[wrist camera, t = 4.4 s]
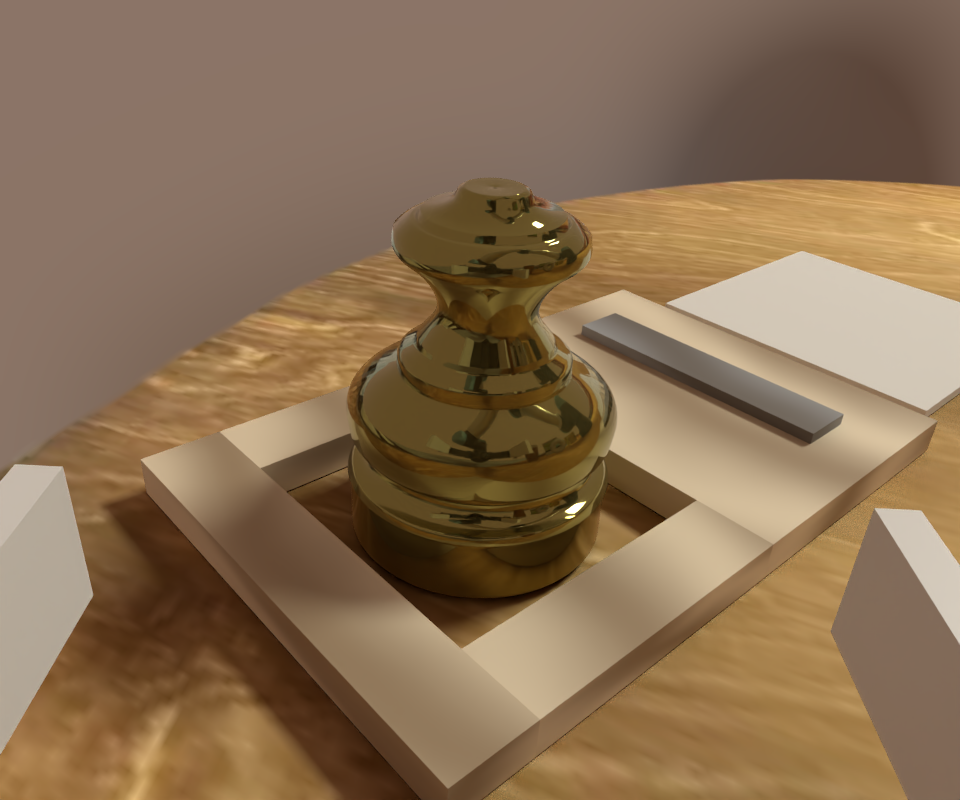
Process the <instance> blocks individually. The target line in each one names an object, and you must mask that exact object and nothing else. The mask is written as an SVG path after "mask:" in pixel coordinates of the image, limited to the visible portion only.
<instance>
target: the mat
mask: <svg viewBox="0 0 960 800" xmlns="http://www.w3.org/2000/svg"><path fill="white" fill-rule="evenodd" d="M665 307H666V308H668V309H671V310H673V311H676V312H678V313H680V314H683V315H685V316H688V317H690V318H692V319H695V320H697V321H700V322H702V323H704V324H707V325H709V326H712V327H714V328H716V329H719V330H721V331H724V332H726V333H728V334H731V335H733V336H735V337H738V338H740V339H743V340H745V341H747V342H750V343H752V344H755V345H757V346H759V347H762V348H764V349H767V350H769V351H771V352H774V353H776V354H779V355H781V356H783V357H786V358H788V359H791V360H793V361H795V362H798V363H800V364H802V365H805V366H807V367H810V368H812V369H814V370H817V371H819V372H822V373H824V374H826V375H829V376H831V377H834V378H836V379H838V380H841V381H843V382H846V383H848V384H850V385H853V386H855V387H858V388H860V389H862V390H865V391H867V392H870V393H872V394H874V395H877V396H879V397H881V398H884V399H886V400H889V401H891V402H893V403H896V404H898V405H901V406H903V407H905V408H908V409H910V410H913V411H915V412H917V413H920V414H922V415H925V416H927V417H928V416H930V415H931V414H932V413H934V412H935V411H936V410H938V409H939V408H940V407H942V406H943V405H945V404H946V403H947V402H949V401H950V400H951V399H953V398H954V397H956V396H957V395H958V394H960V302H957V301H954V300H951V299H948V298H945V297H942V296H939V295H936V294H932V293H929V292H926V291H923V290H920V289H917V288H914V287H911V286H908V285H905V284H902V283H899V282H896V281H893V280H889V279H886V278H883V277H880V276H877V275H874V274H871V273H868V272H865V271H862V270H859V269H856V268H853V267H850V266H847V265H843V264H840V263H837V262H834V261H831V260H828V259H825V258H822V257H819V256H816V255H813V254H810V253H807V252H804V251H800V252H798V253H795V254H793V255H790V256H787V257H785V258H782V259H780V260H777V261H774V262H772V263H769V264H767V265H764V266H761V267H759V268H756V269H753V270H751V271H748V272H746V273H743V274H740V275H738V276H735V277H733V278H730V279H727V280H725V281H722V282H720V283H717V284H714V285H712V286H709V287H707V288H704V289H701V290H699V291H696V292H694V293H691V294H688V295H686V296H683V297H681V298H678V299H675V300H673V301H670V302H668V303H666V306H665Z"/></svg>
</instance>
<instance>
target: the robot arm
mask: <svg viewBox="0 0 960 800" xmlns="http://www.w3.org/2000/svg"><path fill="white" fill-rule="evenodd" d="M92 597H93V592H92V587H91V583H90V579H89V575H88V571H87V566H86V562H85V558H84V554H83V549H82V545H81V541H80V537H79V533H78V528H77V524H76V520H75V516H74V511H73V507H72V503H71V499H70V494H69V490H68V486H67V482H66V478H65V473H64V469H63V467H57V466H37V465H18V464H15V465H14V466H13V467H12V469H11V470H10V471H9V472H8V473H7V474H6V475H5V477H4V478H3V479H2V480H1V481H0V754H1V753H2V751H3V749H4V747H5V746H6V744H7V742H8V741H9V739H10V737H11V735H12V734H13V732H14V730H15V729H16V727H17V725H18V723H19V722H20V720H21V718H22V717H23V715H24V713H25V711H26V710H27V708H28V706H29V705H30V703H31V701H32V699H33V698H34V696H35V694H36V693H37V691H38V689H39V687H40V686H41V684H42V682H43V681H44V679H45V677H46V675H47V674H48V672H49V670H50V669H51V667H52V665H53V663H54V662H55V660H56V658H57V657H58V655H59V653H60V651H61V650H62V648H63V646H64V645H65V643H66V641H67V639H68V638H69V636H70V634H71V633H72V631H73V629H74V627H75V626H76V624H77V622H78V621H79V619H80V617H81V615H82V614H83V612H84V610H85V609H86V607H87V605H88V603H89V602H90V600H91V598H92ZM831 633H832V635H833V638H834V640H835V642H836V644H837V646H838V648H839V651H840V653H841V655H842V657H843V659H844V662H845V664H846V666H847V668H848V670H849V672H850V675H851V677H852V679H853V681H854V683H855V685H856V688H857V690H858V692H859V694H860V696H861V698H862V701H863V703H864V705H865V707H866V709H867V711H868V714H869V716H870V718H871V720H872V722H873V725H874V727H875V729H876V731H877V733H878V735H879V738H880V740H881V742H882V744H883V746H884V748H885V751H886V753H887V755H888V757H889V759H890V761H891V764H892V766H893V768H894V770H895V772H896V774H897V777H898V779H899V781H900V783H901V785H902V788H903V790H904V792H905V794H906V796H907V798H908V800H960V565H959V564H958V562H957V561H956V559H955V558H954V557H953V555H952V554H951V552H950V551H949V549H948V548H947V547H946V545H945V544H944V542H943V541H942V540H941V538H940V537H939V535H938V534H937V532H936V531H935V530H934V528H933V527H932V525H931V524H930V522H929V521H928V520H927V518H926V517H925V515H924V514H923V512H922V511H920V510H901V509H881V508H874V511H873V513H872V516H871V519H870V522H869V525H868V528H867V530H866V533H865V536H864V539H863V542H862V544H861V547H860V550H859V553H858V556H857V559H856V561H855V564H854V567H853V570H852V573H851V576H850V578H849V581H848V584H847V587H846V590H845V593H844V595H843V598H842V601H841V604H840V607H839V609H838V612H837V615H836V618H835V621H834V624H833V626H832V629H831Z"/></svg>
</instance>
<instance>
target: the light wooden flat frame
mask: <svg viewBox="0 0 960 800" xmlns="http://www.w3.org/2000/svg"><path fill="white" fill-rule="evenodd" d="M542 321H543V322H544V323H545V324H546V326H547V327H548V328H549V329H550V330H551V332H553V333H554V334H556V335H557V336H558V337H559V338H561V339H562V340H563V341H564V342H565V343H566V345H567V346H568V347H569V349H570V351H572V352H574V353H575V354H577V355H578V356H580V357H581V358H583V359H584V360H585V361H587V362H588V363H589V364H590V365H591V366H592V367H594V368H595V369H596V371H597V372H598V373H599V374H600V375H601V376H602V377H603V378H604V380H605V381H606V383H607V384H608V386H609V388H610V389H611V391H612V394H613V396H614V399H615V402H616V406H617V417H618V418H617V426H616V431H615V434H614V437H613V440H612V443H611V447H610V449H609V451H608V453H607V455H606V457H605V458H604V459H605V462H606V465H607V470H608V483H609V484H611V485H612V486H614V487H616V488H617V489H619V490H620V491H622V492H624V493H625V494H627V495H629V496H630V497H632V498H634V499H635V500H637V501H638V502H640V503H642V504H643V505H645V506H647V507H648V508H650V509H652V510H653V511H655V512H656V513H658V514H660V515H661V516H663V517H665V518H666V519H667V520H665V521H664V522H662V523H660V524H659V525H657V526H656V527H654V528H652V529H651V530H649V531H648V532H646V533H644V534H643V535H641V536H640V537H638V538H637V539H635V540H633V541H632V542H630V543H629V544H627V545H625V546H624V547H622V548H621V549H619V550H618V551H616V552H614V553H613V554H611V555H610V556H608V557H606V558H605V559H603V560H602V561H600V562H599V563H597V564H595V565H594V566H592V567H591V568H589V569H587V570H586V571H584V572H583V573H581V574H580V575H578V576H576V577H575V578H573V579H572V580H570V581H568V582H567V583H565V584H564V585H562V586H561V587H559V588H557V589H556V590H554V591H553V592H551V593H549V594H548V595H546V596H545V597H543V598H541V599H540V600H538V601H537V602H535V603H534V604H532V605H530V606H529V607H527V608H526V609H524V610H522V611H521V612H519V613H518V614H516V615H515V616H513V617H511V618H510V619H508V620H507V621H505V622H503V623H502V624H500V625H499V626H497V627H496V628H494V629H492V630H491V631H489V632H488V633H486V634H484V635H483V636H481V637H480V638H478V639H477V640H475V641H473V642H472V643H470V644H469V645H467V646H465V647H464V648H462V649H461V648H460V647H459V646H458V645H457V644H455V643H454V642H453V641H452V640H451V639H450V638H449V637H448V636H446V635H445V634H444V633H443V632H442V631H441V630H440V629H439V628H438V627H436V626H435V625H434V624H433V623H432V622H431V621H430V620H429V619H428V618H426V617H425V616H424V615H423V614H422V613H421V612H420V611H419V610H418V609H416V608H415V607H414V606H413V605H412V604H411V603H410V602H409V601H408V600H406V599H405V598H404V597H403V596H402V595H401V594H400V593H399V592H397V591H396V590H395V589H394V588H393V587H392V586H391V585H390V584H389V583H387V582H386V581H385V580H384V579H383V578H382V577H381V576H380V575H379V574H377V573H376V572H375V571H374V570H373V569H372V568H371V567H370V566H369V565H367V564H366V563H365V562H364V561H363V560H362V559H361V558H360V557H358V556H357V555H356V554H355V553H354V552H353V551H352V550H351V549H350V548H348V547H347V546H346V545H345V544H344V543H343V542H342V541H341V540H340V539H338V538H337V537H336V536H335V535H334V534H333V533H332V532H331V531H330V530H328V529H327V528H326V527H325V526H324V525H323V524H322V523H321V522H320V521H318V520H317V519H316V518H315V517H314V516H313V515H312V514H311V513H309V512H308V511H307V510H306V509H305V508H304V507H303V506H302V505H301V504H299V503H298V502H297V501H296V500H295V499H294V498H293V497H292V496H291V495H289V494H288V493H287V491H289V490H292V489H294V488H296V487H299V486H301V485H304V484H306V483H308V482H311V481H313V480H315V479H318V478H320V477H323V476H325V475H327V474H330V473H332V472H335V471H337V470H339V469H342V468H344V467H347V466H348V459H349V454H350V451H351V448H352V447H353V445H354V442H353V440H352V437H351V433H350V430H349V425H348V420H347V414H346V398H347V394H348V390H349V387H350V386H348V387H345V388H342V389H340V390H337V391H334V392H331V393H328V394H325V395H323V396H320V397H317V398H314V399H311V400H308V401H305V402H303V403H300V404H297V405H294V406H291V407H288V408H286V409H283V410H280V411H277V412H274V413H271V414H269V415H266V416H263V417H260V418H257V419H254V420H251V421H249V422H246V423H243V424H240V425H237V426H234V427H232V428H229V429H226V430H223V431H220V432H217V433H214V434H212V435H209V436H206V437H203V438H200V439H197V440H195V441H192V442H189V443H186V444H183V445H180V446H177V447H175V448H172V449H169V450H166V451H163V452H160V453H158V454H155V455H152V456H149V457H146V458H143V459H141V465H142V470H143V476H144V481H145V487H146V493H147V494H148V495H149V496H150V497H151V498H152V499H153V500H154V502H155V503H156V504H157V505H158V506H159V507H160V508H161V509H162V510H163V512H164V513H165V514H166V515H167V516H168V517H169V518H170V519H171V521H172V522H173V523H174V524H175V525H176V526H177V527H178V528H179V529H180V531H181V532H182V533H183V534H184V535H185V536H186V537H187V538H188V540H189V541H190V542H191V543H192V544H193V545H194V546H195V547H196V548H197V550H198V551H199V552H200V553H201V554H202V555H203V556H204V557H205V559H206V560H207V561H208V562H209V563H210V564H211V565H212V566H213V567H214V569H215V570H216V571H217V572H218V573H219V574H220V575H221V576H222V578H223V579H224V580H225V581H226V582H227V583H228V584H229V585H230V586H231V588H232V589H233V590H234V591H235V592H236V593H237V594H238V595H239V597H240V598H241V599H242V600H243V601H244V602H245V603H246V604H247V605H248V607H249V608H250V609H251V610H252V611H253V612H254V613H255V614H256V616H257V617H258V618H259V619H260V620H261V621H262V622H263V623H264V625H265V626H266V627H267V628H268V629H269V630H270V631H271V632H272V633H273V635H274V636H275V637H276V638H277V639H278V640H279V641H280V642H281V644H282V645H283V646H284V647H285V648H286V649H287V650H288V651H289V652H290V654H291V655H292V656H293V657H294V658H295V659H296V660H297V661H298V663H299V664H300V665H301V666H302V667H303V668H304V669H305V670H306V671H307V673H308V674H309V675H310V676H311V677H312V678H313V679H314V680H315V682H316V683H317V684H318V685H319V686H320V687H321V688H322V689H323V690H324V692H325V693H326V694H327V695H328V696H329V697H330V698H331V699H332V701H333V702H334V703H335V704H336V705H337V706H338V707H339V708H340V709H341V711H342V712H343V713H344V714H345V715H346V716H347V717H348V718H349V720H350V721H351V722H352V723H353V724H354V725H355V726H356V727H357V728H358V730H359V731H360V732H361V733H362V734H363V735H364V736H365V737H366V739H367V740H368V741H369V742H370V743H371V744H372V745H373V746H374V747H375V749H376V750H377V751H378V752H379V753H380V754H381V755H382V756H383V758H384V759H385V760H386V761H387V762H388V763H389V764H390V765H391V766H392V768H393V769H394V770H395V771H396V772H397V773H398V774H399V775H400V777H401V778H402V779H403V780H404V781H405V782H406V783H407V784H408V785H409V787H410V788H411V789H412V790H413V791H414V792H415V793H416V794H417V796H418V797H419V798H420V799H421V800H482V799H483V798H484V797H485V796H487V795H488V794H489V793H491V792H492V791H493V790H494V789H496V788H497V787H498V786H499V785H501V784H502V783H503V782H505V781H506V780H507V779H508V778H510V777H511V776H512V775H513V774H515V773H516V772H517V771H519V770H520V769H521V768H522V767H524V766H525V765H526V764H527V763H529V762H530V761H531V760H533V759H534V758H535V757H536V756H538V755H539V754H540V753H541V752H543V751H544V750H545V749H547V748H548V747H549V746H550V745H552V744H553V743H554V742H556V741H557V740H558V739H559V738H561V737H562V736H563V735H564V734H566V733H567V732H568V731H570V730H571V729H572V728H573V727H575V726H576V725H577V724H578V723H580V722H581V721H582V720H584V719H585V718H586V717H587V716H589V715H590V714H591V713H592V712H594V711H595V710H596V709H598V708H599V707H600V706H601V705H603V704H604V703H605V702H606V701H608V700H609V699H610V698H612V697H613V696H614V695H615V694H617V693H618V692H619V691H620V690H622V689H623V688H624V687H626V686H627V685H628V684H629V683H631V682H632V681H633V680H635V679H636V678H637V677H638V676H640V675H641V674H642V673H643V672H645V671H646V670H647V669H649V668H650V667H651V666H652V665H654V664H655V663H656V662H657V661H659V660H660V659H661V658H663V657H664V656H665V655H666V654H668V653H669V652H670V651H671V650H673V649H674V648H675V647H677V646H678V645H679V644H680V643H682V642H683V641H684V640H685V639H687V638H688V637H689V636H691V635H692V634H693V633H694V632H696V631H697V630H698V629H700V628H701V627H702V626H703V625H705V624H706V623H707V622H708V621H710V620H711V619H712V618H714V617H715V616H716V615H717V614H719V613H720V612H721V611H722V610H724V609H725V608H726V607H728V606H729V605H730V604H731V603H733V602H734V601H735V600H736V599H738V598H739V597H740V596H742V595H743V594H744V593H745V592H747V591H748V590H749V589H750V588H752V587H753V586H754V585H756V584H757V583H758V582H759V581H761V580H762V579H763V578H764V577H766V576H767V575H768V574H770V573H771V572H772V571H773V570H775V569H776V568H777V567H779V566H780V565H781V564H782V563H784V562H785V561H786V560H787V559H789V558H790V557H791V556H793V555H794V554H795V553H796V552H798V551H799V550H800V549H801V548H803V547H804V546H805V545H807V544H808V543H809V542H810V541H812V540H813V539H814V538H815V537H817V536H818V535H819V534H821V533H822V532H823V531H824V530H826V529H827V528H828V527H829V526H831V525H832V524H833V523H835V522H836V521H837V520H838V519H840V518H841V517H842V516H844V515H845V514H846V513H847V512H849V511H850V510H851V509H852V508H854V507H855V506H856V505H858V504H859V503H860V502H861V501H863V500H864V499H865V498H866V497H868V496H869V495H870V494H872V493H873V492H874V491H875V490H877V489H878V488H879V487H880V486H882V485H883V484H884V483H886V482H887V481H888V480H889V479H891V478H892V477H893V476H894V475H896V474H897V473H898V472H900V471H901V470H902V469H903V468H905V467H906V466H907V465H908V464H910V463H911V462H912V461H914V460H915V459H916V458H917V457H919V456H920V455H921V454H923V453H924V452H925V451H926V450H927V448H928V446H929V443H930V440H931V438H932V435H933V432H934V430H935V427H936V424H937V422H938V421H937V420H934V419H932V418H929V417H927V416H925V415H922V414H920V413H917V412H915V411H913V410H910V409H908V408H905V407H903V406H901V405H898V404H896V403H893V402H891V401H889V400H886V399H884V398H881V397H879V396H877V395H874V394H872V393H870V392H867V391H865V390H862V389H860V388H858V387H855V386H853V385H850V384H848V383H846V382H843V381H841V380H838V379H836V378H834V377H831V376H829V375H826V374H824V373H822V372H819V371H817V370H814V369H812V368H810V367H807V366H805V365H802V364H800V363H798V362H795V361H793V360H791V359H788V358H786V357H783V356H781V355H779V354H776V353H774V352H771V351H769V350H767V349H764V348H762V347H759V346H757V345H755V344H752V343H750V342H747V341H745V340H743V339H740V338H738V337H735V336H733V335H731V334H728V333H726V332H724V331H721V330H719V329H716V328H714V327H712V326H709V325H707V324H704V323H702V322H700V321H697V320H695V319H692V318H690V317H688V316H685V315H683V314H680V313H678V312H676V311H673V310H671V309H668V308H666V307H664V306H661V305H659V304H656V303H654V302H652V301H649V300H647V299H645V298H642V297H640V296H637V295H635V294H633V293H630V292H628V291H625V290H621V291H618V292H615V293H613V294H610V295H607V296H604V297H601V298H598V299H596V300H593V301H590V302H587V303H584V304H581V305H579V306H576V307H573V308H570V309H567V310H564V311H561V312H559V313H556V314H553V315H550V316H547V317H544V318H542Z"/></svg>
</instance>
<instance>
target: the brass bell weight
mask: <svg viewBox="0 0 960 800" xmlns="http://www.w3.org/2000/svg"><path fill="white" fill-rule="evenodd" d="M391 243H392V247H393V250H394V252H395V253H396V255H397V256H398V257H399V259H400V260H401V261H402V262H403V263H404V264H405V265H407V266H408V267H409V268H411V269H412V270H414V271H415V272H417V273H418V274H419V275H420V276H421V277H423V278H424V279H425V281H426V282H427V283H428V284H429V285H430V287H431V288H432V290H433V292H434V294H435V296H436V300H437V306H436V309H435V311H434V312H433V313H432V314H431V315H430V316H429V317H428V318H427V319H426V320H425V321H424V322H423V323H422V324H420V325H418V326H417V327H415V328H413V329H412V330H410V331H409V332H408V333H407V334H406V335H405V336H404V337H403V338H402V339H401V340H400V341H398V342H396V343H393V344H391V345H390V346H388V347H386V348H384V349H383V350H381V351H380V352H378V353H377V354H375V355H374V356H373V357H372V358H370V359H369V360H368V361H367V362H366V363H365V364H364V365H363V366H362V367H361V368H360V370H359V371H358V372H357V373H356V375H355V377H354V378H353V380H352V382H351V384H350V387H349V390H348V394H347V398H346V414H347V420H348V425H349V430H350V433H351V437H352V440H353V442H354V445H353V447H352V448H351V451H350V454H349V459H348V474H349V478H350V481H351V493H352V522H353V527H354V531H355V533H356V536H357V538H358V540H359V542H360V543H361V545H362V547H363V548H364V549H365V551H366V552H367V553H368V554H369V555H370V556H371V558H372V559H373V560H374V561H376V562H377V563H378V564H379V565H380V566H381V567H383V568H384V569H385V570H387V571H388V572H390V573H391V574H393V575H395V576H396V577H398V578H400V579H402V580H404V581H406V582H408V583H410V584H412V585H415V586H417V587H420V588H423V589H426V590H429V591H433V592H436V593H440V594H445V595H450V596H457V597H467V598H499V597H507V596H514V595H519V594H523V593H527V592H531V591H534V590H537V589H540V588H543V587H545V586H547V585H550V584H552V583H554V582H556V581H558V580H560V579H561V578H563V577H564V576H566V575H568V574H569V573H570V572H572V571H573V570H574V569H575V568H577V567H578V566H579V565H580V564H581V563H582V562H583V561H584V559H585V558H586V557H587V555H588V554H589V553H590V551H591V549H592V547H593V545H594V543H595V540H596V537H597V532H598V525H599V518H600V511H601V504H602V499H603V497H604V494H605V492H606V489H607V485H608V470H607V465H606V462H605V459H604V458H605V457H606V455H607V453H608V451H609V449H610V447H611V443H612V440H613V437H614V434H615V431H616V426H617V418H618V417H617V406H616V402H615V399H614V396H613V394H612V391H611V389H610V388H609V386H608V384H607V383H606V381H605V380H604V378H603V377H602V376H601V375H600V374H599V373H598V372H597V371H596V369H595V368H594V367H592V366H591V365H590V364H589V363H588V362H587V361H585V360H584V359H583V358H581V357H580V356H578V355H577V354H575V353H574V352H572V351H570V349H569V347H568V346H567V345H566V343H565V342H564V341H563V340H562V339H561V338H559V337H558V336H557V335H556V334H554V333H553V332H551V330H550V329H549V328H548V327H547V326H546V324H545V323H544V322H543V321H542V319H541V317H540V315H539V308H540V305H541V302H542V301H543V299H544V298H545V296H546V295H547V294H548V293H549V292H550V291H551V290H552V289H553V288H554V287H555V286H557V285H558V284H560V283H561V282H563V281H565V280H567V279H569V278H571V277H573V276H574V275H576V274H577V273H578V272H580V271H581V270H582V269H583V268H584V267H585V266H586V265H587V263H588V262H589V260H590V258H591V255H592V250H593V247H592V234H591V232H590V231H589V229H588V228H587V227H586V226H585V225H584V224H583V223H582V222H581V221H580V220H578V219H577V218H576V217H574V216H573V215H571V214H570V213H568V212H566V211H564V210H563V209H562V208H561V207H560V206H558V205H557V204H555V203H553V202H551V201H549V200H546V199H543V198H540V197H536V196H534V195H533V193H532V191H531V189H530V188H529V187H528V186H526V185H524V184H522V183H520V182H516V181H513V180H508V179H502V178H478V179H472V180H469V181H466V182H464V183H462V184H461V185H459V187H458V188H457V190H456V191H452V192H447V193H443V194H439V195H436V196H433V197H431V198H429V199H427V200H426V201H424V202H422V203H420V204H418V205H416V206H413V207H412V208H410V209H408V210H407V211H405V212H404V213H403V214H401V215H400V216H399V217H398V218H397V219H396V220H395V222H394V224H393V228H392V235H391Z"/></svg>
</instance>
